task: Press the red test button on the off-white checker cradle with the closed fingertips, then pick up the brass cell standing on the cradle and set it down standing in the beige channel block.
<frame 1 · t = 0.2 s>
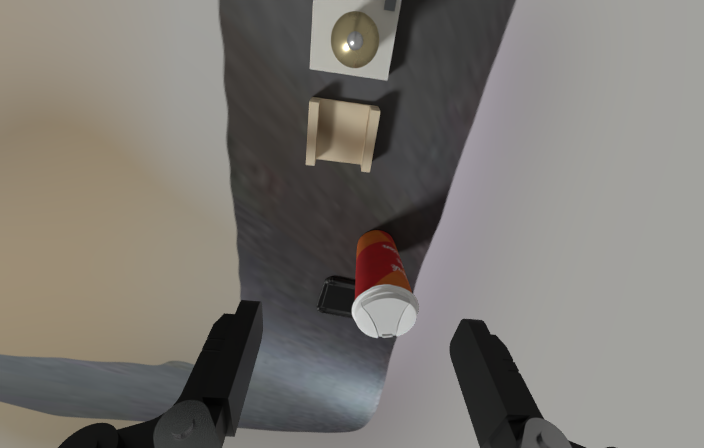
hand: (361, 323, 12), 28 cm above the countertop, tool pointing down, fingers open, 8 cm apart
phone: (363, 298, 52), on the countertop
paper cup: (375, 244, 45), on the countertop
cell: (352, 40, 29), point 2 cm above the countertop, touching checker cradle
beige channel block: (341, 132, 36), on the countertop
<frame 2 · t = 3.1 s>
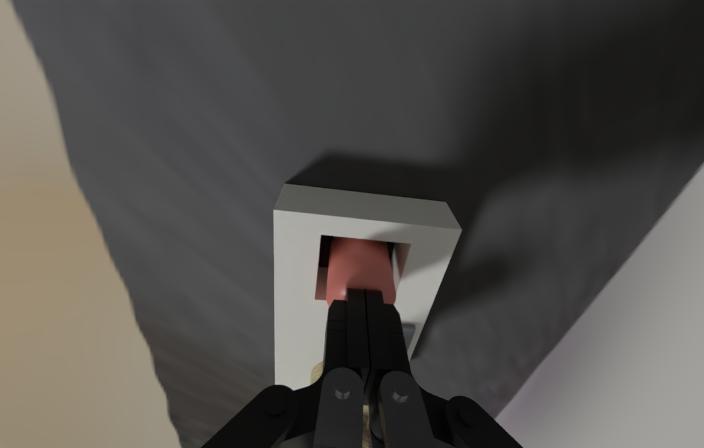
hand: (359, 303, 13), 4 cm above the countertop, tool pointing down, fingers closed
cell: (339, 374, 19), point 2 cm above the countertop, touching checker cradle
test button: (359, 270, 14), point 2 cm above the countertop, slide at -0.5 cm, touching gripper
checker cradle: (347, 300, 19), on the countertop
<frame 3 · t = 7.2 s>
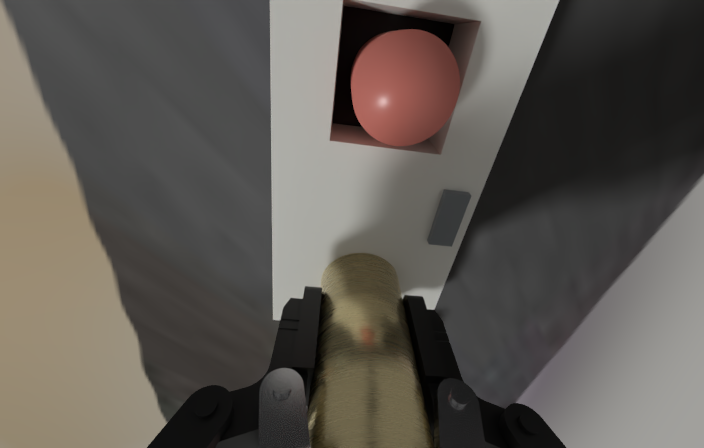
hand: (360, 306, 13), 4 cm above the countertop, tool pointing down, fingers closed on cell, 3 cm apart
cell: (359, 283, 14), point 2 cm above the countertop, touching checker cradle, gripper
test button: (396, 84, 10), point 2 cm above the countertop, slide at -0.7 cm
checker cradle: (369, 183, 14), on the countertop
when the fingers open (3 cm above the countertop, at t = 11.9 s): cell drops 1 cm, resting on beige channel block.
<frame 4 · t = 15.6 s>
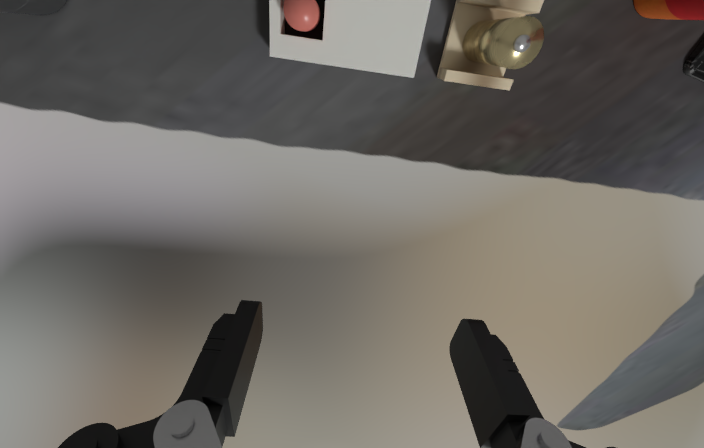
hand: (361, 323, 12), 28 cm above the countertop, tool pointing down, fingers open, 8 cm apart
cell: (480, 42, 30), point 1 cm above the countertop, touching beige channel block
test button: (303, 12, 28), point 2 cm above the countertop, slide at -0.7 cm
checker cradle: (350, 21, 30), on the countertop
beige channel block: (479, 42, 31), on the countertop
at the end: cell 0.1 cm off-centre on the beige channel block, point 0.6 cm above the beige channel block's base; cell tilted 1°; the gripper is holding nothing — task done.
